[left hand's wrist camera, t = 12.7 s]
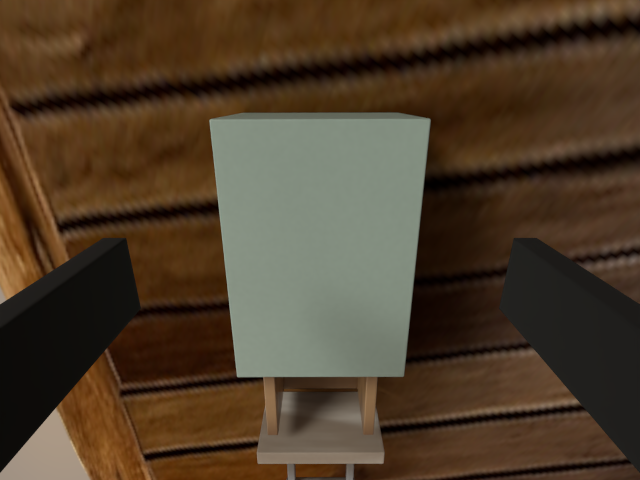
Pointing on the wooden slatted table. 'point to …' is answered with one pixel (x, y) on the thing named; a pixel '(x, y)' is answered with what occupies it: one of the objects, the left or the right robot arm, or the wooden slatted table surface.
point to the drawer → (320, 424)
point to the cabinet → (320, 239)
